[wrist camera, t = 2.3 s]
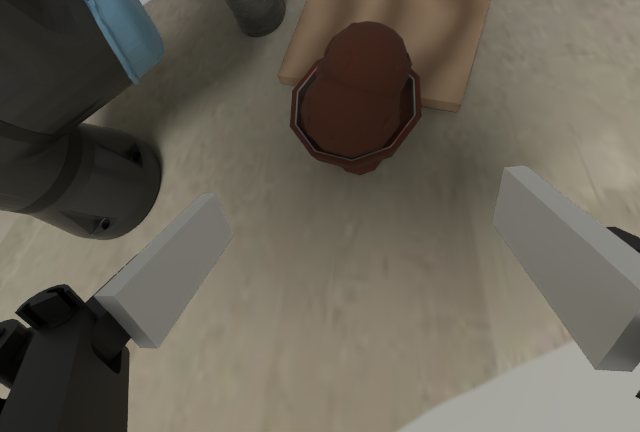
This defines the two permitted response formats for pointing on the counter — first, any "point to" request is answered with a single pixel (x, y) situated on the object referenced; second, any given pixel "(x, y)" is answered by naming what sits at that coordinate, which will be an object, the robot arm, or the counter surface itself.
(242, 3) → the metal tin
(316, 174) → the counter surface
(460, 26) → the walnut board
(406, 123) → the ice cream bowl
